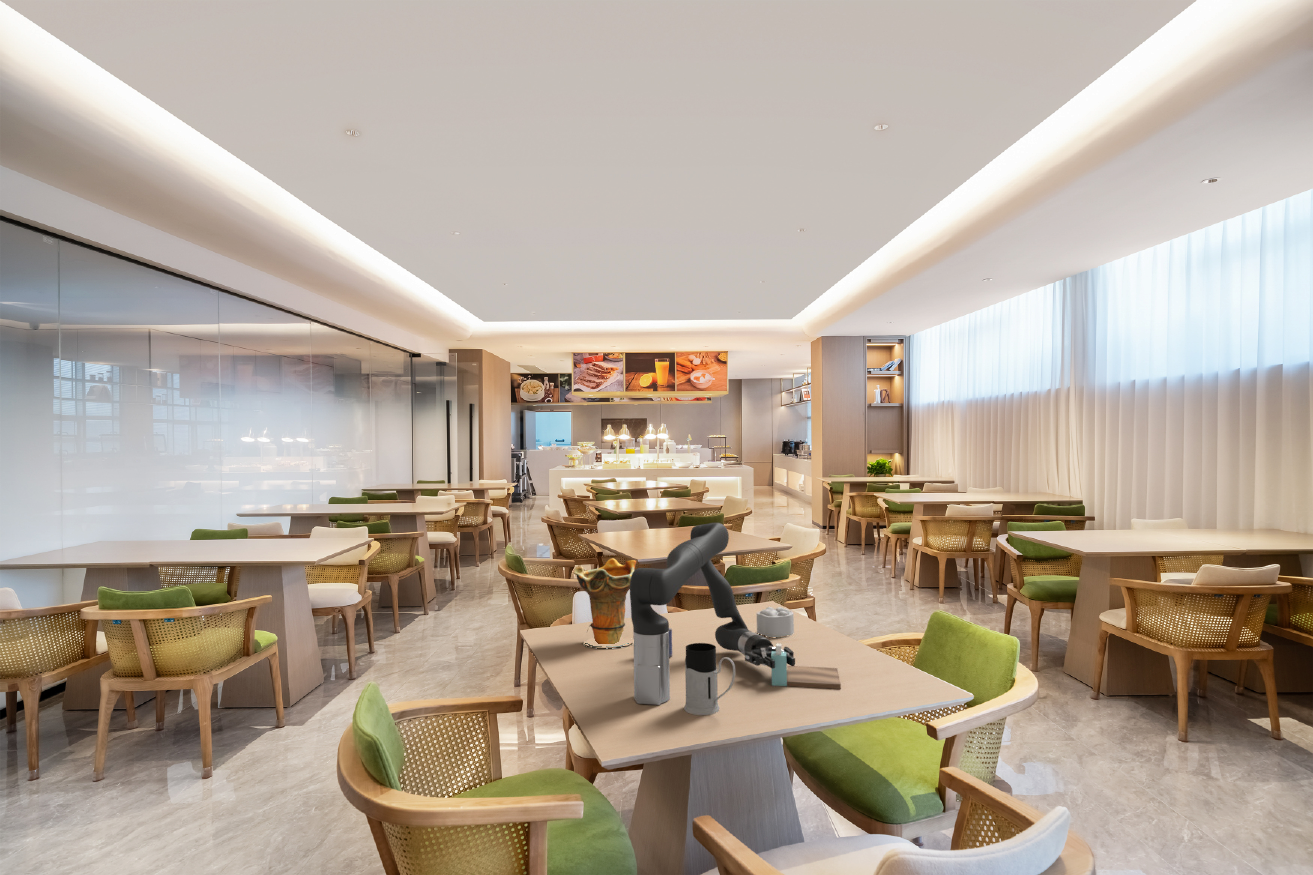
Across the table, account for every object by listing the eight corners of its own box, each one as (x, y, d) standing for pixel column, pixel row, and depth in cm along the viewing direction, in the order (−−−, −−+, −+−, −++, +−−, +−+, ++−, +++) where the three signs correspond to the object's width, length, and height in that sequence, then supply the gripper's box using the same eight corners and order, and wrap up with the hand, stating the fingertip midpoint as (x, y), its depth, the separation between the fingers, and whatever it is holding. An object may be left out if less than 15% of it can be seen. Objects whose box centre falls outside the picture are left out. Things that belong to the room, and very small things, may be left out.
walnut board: (840, 688, 174) (840, 684, 174) (787, 685, 177) (786, 681, 177) (837, 672, 188) (837, 667, 188) (787, 669, 191) (787, 665, 191)
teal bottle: (786, 686, 177) (785, 647, 177) (771, 685, 178) (770, 646, 178) (787, 681, 181) (786, 643, 181) (772, 680, 182) (771, 642, 182)
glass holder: (697, 699, 168) (696, 640, 169) (745, 712, 159) (744, 649, 160) (676, 709, 161) (675, 647, 162) (725, 723, 152) (724, 658, 153)
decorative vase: (561, 646, 217) (563, 561, 220) (599, 633, 238) (600, 555, 240) (615, 654, 208) (616, 564, 210) (649, 640, 228) (650, 559, 230)
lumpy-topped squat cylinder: (753, 632, 233) (752, 608, 234) (782, 627, 239) (781, 603, 240) (771, 639, 224) (770, 613, 224) (801, 634, 230) (800, 609, 230)
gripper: (732, 636, 191) (759, 652, 175) (776, 631, 196) (806, 646, 180) (733, 662, 191) (760, 680, 175) (777, 657, 195) (807, 674, 179)
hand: (783, 663), depth 177 cm, fingers closed on teal bottle, 5 cm apart
